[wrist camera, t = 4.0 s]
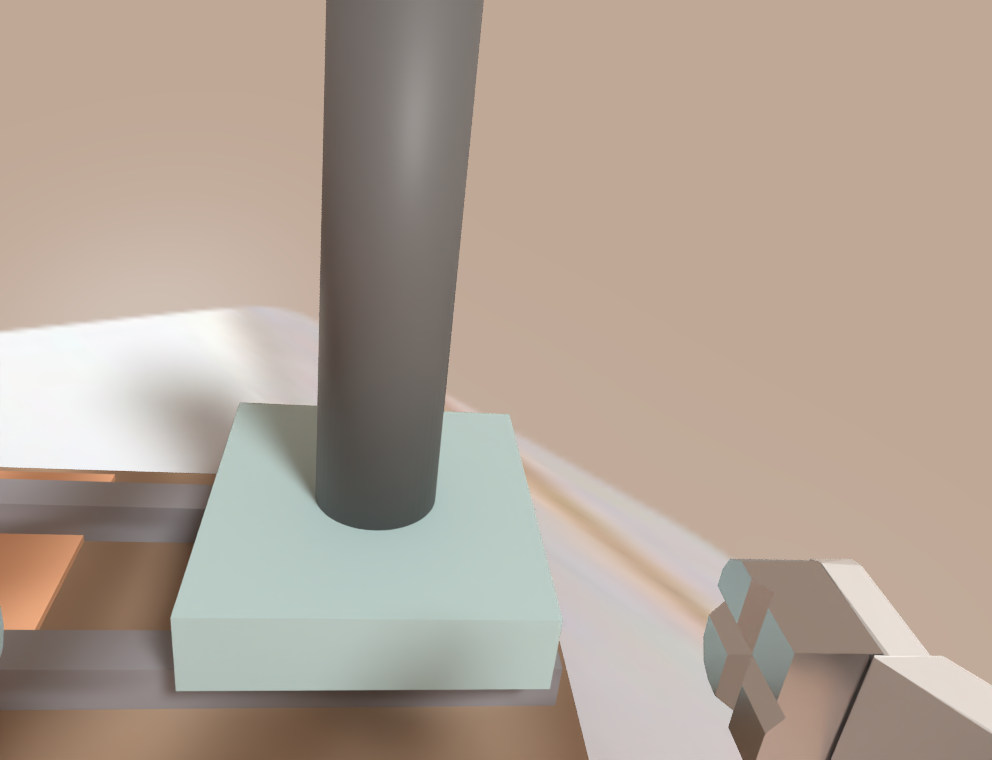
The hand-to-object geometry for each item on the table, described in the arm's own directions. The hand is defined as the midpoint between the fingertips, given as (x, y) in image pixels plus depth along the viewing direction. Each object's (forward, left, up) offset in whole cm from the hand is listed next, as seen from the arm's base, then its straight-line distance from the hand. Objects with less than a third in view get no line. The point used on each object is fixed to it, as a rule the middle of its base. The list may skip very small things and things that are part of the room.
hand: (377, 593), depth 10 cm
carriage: (0, +10, -8) cm, 13 cm away
